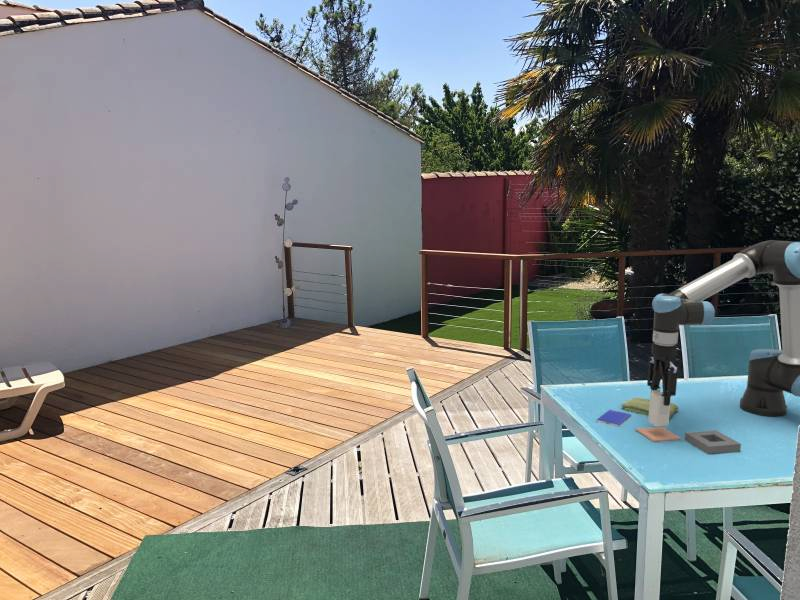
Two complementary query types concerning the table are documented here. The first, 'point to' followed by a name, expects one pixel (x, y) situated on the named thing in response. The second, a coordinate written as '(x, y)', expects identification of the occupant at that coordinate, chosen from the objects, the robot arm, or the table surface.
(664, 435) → the pad
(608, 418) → the hard drive
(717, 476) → the table surface
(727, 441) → the gray square ring
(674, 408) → the washcloth
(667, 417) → the plug
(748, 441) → the table surface
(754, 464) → the table surface
